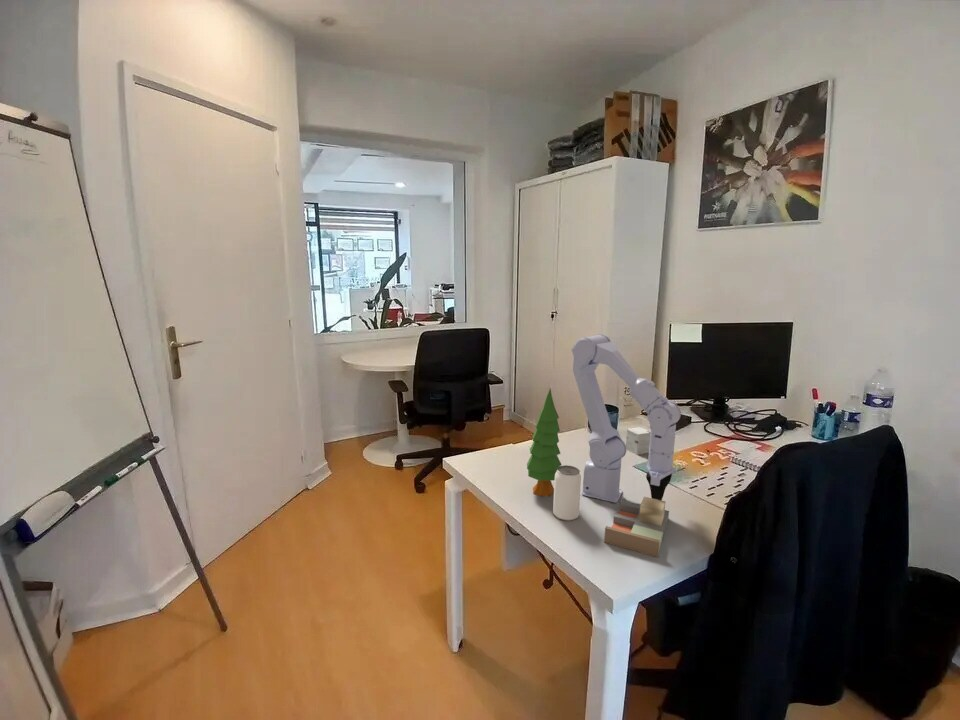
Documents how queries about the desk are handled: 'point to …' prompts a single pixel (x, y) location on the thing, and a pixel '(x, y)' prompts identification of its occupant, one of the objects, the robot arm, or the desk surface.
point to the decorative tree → (545, 449)
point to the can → (567, 493)
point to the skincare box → (638, 440)
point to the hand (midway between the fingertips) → (656, 500)
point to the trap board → (635, 530)
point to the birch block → (652, 511)
